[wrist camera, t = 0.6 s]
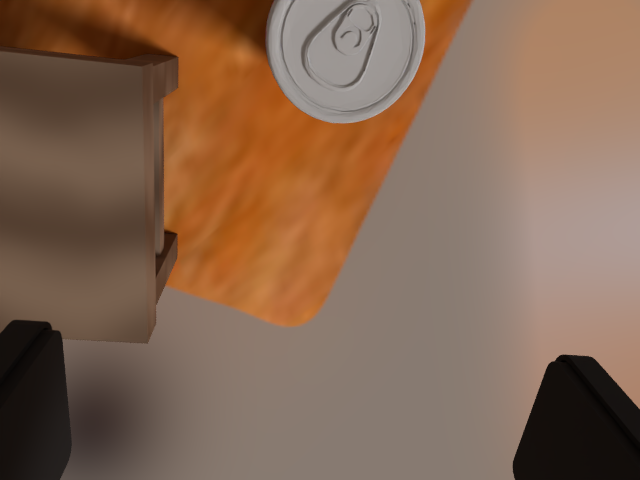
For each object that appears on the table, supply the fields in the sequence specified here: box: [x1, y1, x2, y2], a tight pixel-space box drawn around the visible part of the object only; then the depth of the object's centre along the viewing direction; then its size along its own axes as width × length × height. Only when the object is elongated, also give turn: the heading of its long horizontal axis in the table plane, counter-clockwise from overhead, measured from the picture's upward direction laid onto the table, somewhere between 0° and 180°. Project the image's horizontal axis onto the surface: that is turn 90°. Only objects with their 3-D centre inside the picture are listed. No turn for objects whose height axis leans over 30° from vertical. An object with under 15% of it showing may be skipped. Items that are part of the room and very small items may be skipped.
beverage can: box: [265, 0, 425, 123], centre depth 24 cm, size 6×6×15 cm
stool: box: [0, 46, 178, 343], centre depth 29 cm, size 14×14×10 cm
